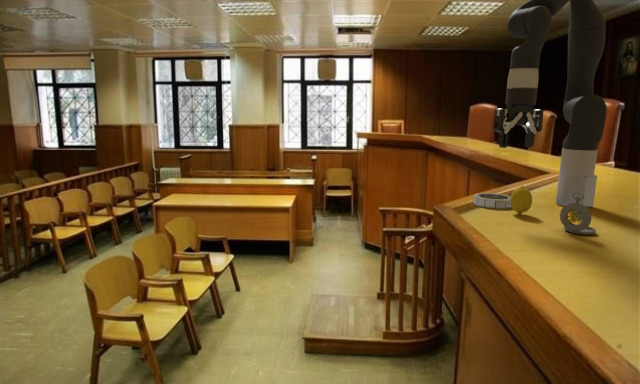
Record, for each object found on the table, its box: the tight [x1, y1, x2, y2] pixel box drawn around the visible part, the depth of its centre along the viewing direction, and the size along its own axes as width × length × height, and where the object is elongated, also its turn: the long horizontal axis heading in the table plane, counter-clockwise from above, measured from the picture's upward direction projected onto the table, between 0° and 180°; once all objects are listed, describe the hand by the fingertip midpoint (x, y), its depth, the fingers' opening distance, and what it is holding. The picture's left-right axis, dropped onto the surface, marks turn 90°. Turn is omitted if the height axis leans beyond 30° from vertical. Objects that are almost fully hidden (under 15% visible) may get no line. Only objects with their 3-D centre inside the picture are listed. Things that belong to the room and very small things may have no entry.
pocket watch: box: [559, 193, 597, 236], centre depth 103 cm, size 8×8×10 cm
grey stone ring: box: [472, 192, 512, 210], centre depth 133 cm, size 11×11×2 cm
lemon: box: [510, 185, 533, 215], centre depth 121 cm, size 6×6×8 cm
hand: (515, 147), depth 120 cm, fingers open, 8 cm apart
